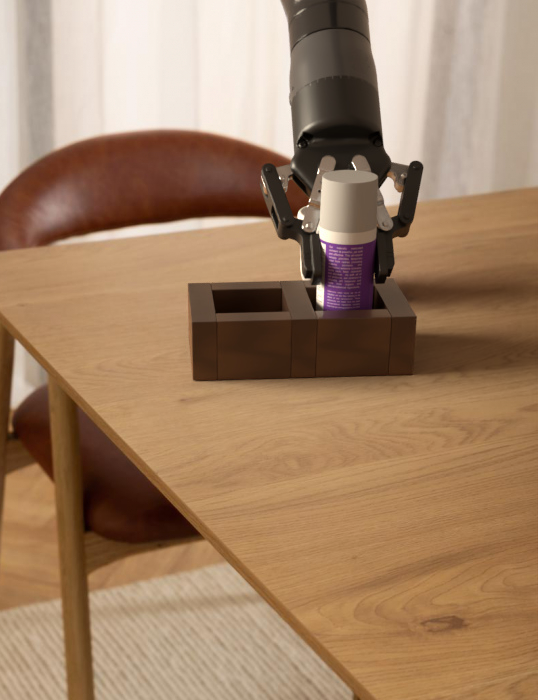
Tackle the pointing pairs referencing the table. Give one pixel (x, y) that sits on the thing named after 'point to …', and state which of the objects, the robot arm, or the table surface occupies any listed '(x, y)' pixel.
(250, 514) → the table surface
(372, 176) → the container
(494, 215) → the table surface
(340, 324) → the holder
